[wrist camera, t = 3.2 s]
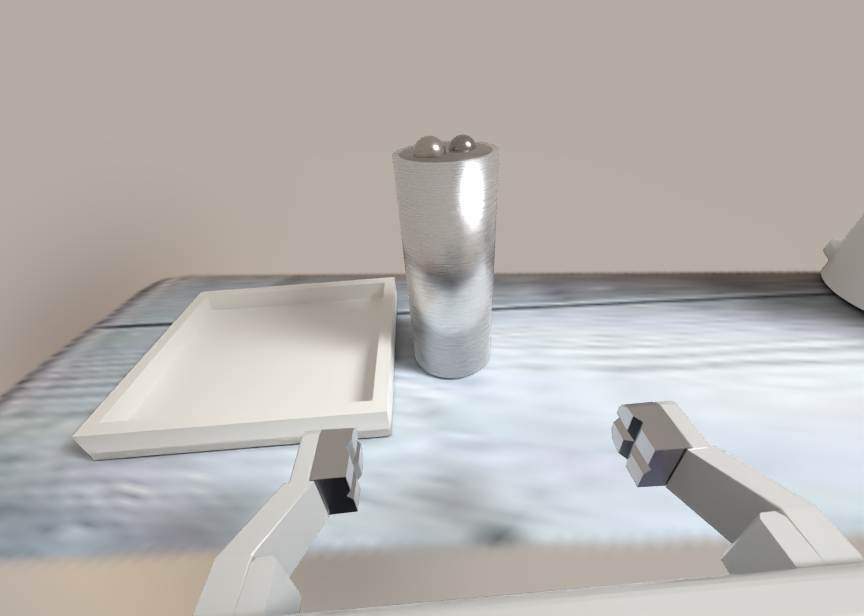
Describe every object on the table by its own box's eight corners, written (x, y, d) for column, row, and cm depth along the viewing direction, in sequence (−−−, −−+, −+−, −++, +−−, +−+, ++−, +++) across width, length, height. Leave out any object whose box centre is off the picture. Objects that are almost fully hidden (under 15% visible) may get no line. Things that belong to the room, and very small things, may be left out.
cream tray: (397, 297, 31) (394, 277, 30) (391, 435, 20) (386, 411, 19) (210, 311, 31) (201, 291, 30) (94, 460, 19) (71, 437, 18)
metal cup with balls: (483, 325, 27) (488, 121, 19) (497, 374, 23) (511, 139, 15) (414, 330, 27) (392, 129, 19) (415, 381, 23) (388, 147, 15)
